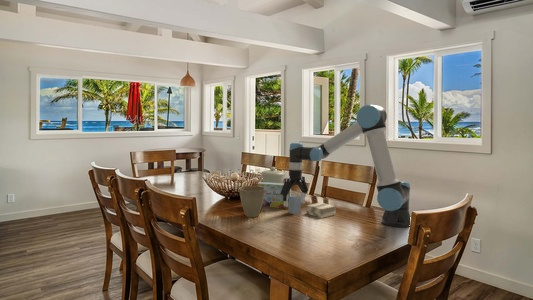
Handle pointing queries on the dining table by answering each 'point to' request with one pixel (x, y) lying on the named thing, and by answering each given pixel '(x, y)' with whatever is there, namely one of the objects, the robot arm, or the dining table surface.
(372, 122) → the robot arm
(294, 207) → the slate-blue block
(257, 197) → the plant pot
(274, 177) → the canister
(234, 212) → the dining table surface
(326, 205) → the maple riser
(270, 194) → the snack box
